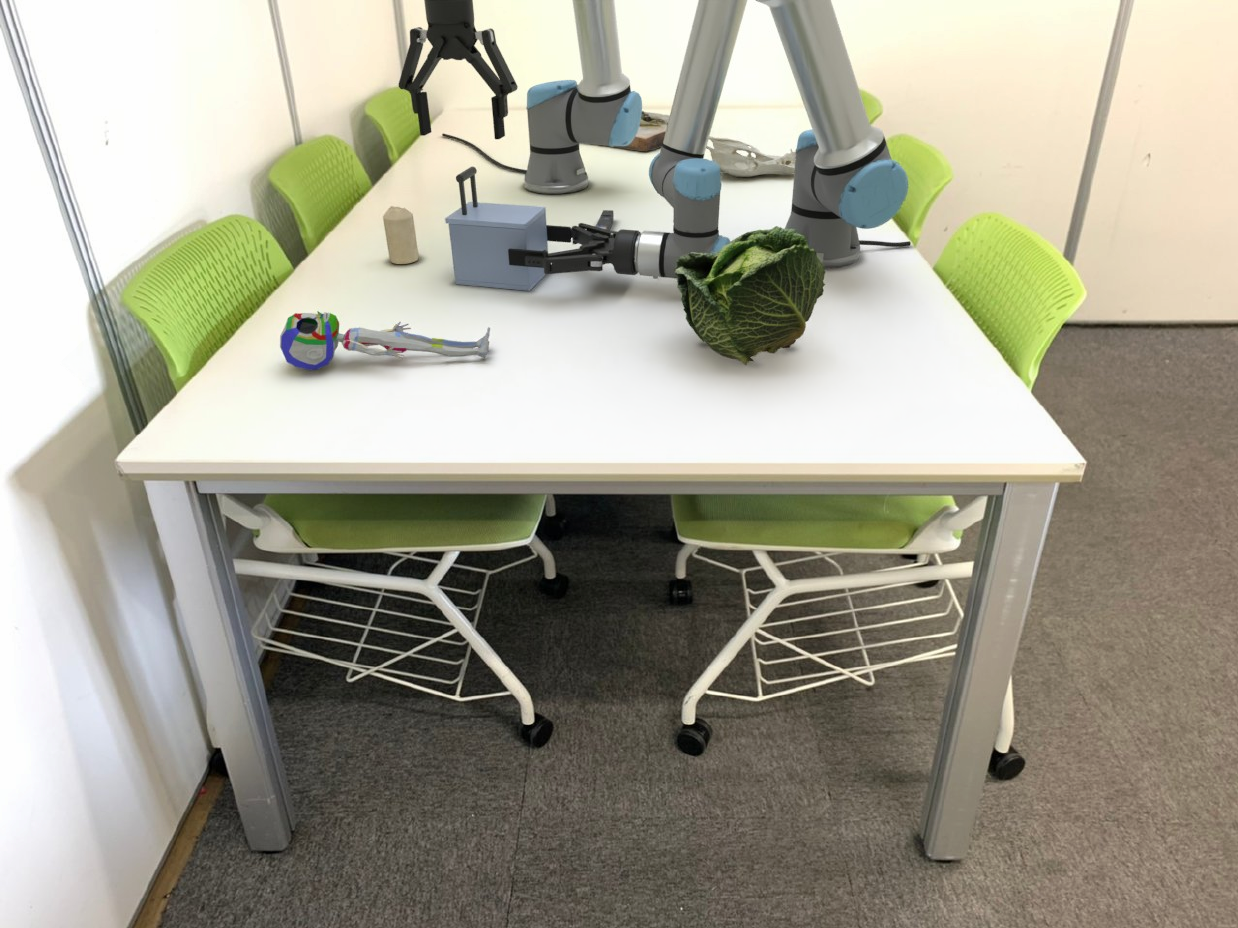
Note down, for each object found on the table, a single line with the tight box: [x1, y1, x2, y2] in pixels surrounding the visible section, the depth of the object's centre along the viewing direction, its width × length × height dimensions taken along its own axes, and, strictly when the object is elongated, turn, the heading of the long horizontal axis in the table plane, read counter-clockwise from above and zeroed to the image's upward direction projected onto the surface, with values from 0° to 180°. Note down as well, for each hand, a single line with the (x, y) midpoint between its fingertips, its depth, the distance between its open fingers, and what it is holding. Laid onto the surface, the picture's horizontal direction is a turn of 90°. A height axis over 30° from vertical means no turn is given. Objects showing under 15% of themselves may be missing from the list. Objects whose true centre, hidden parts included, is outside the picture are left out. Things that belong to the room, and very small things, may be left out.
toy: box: [279, 311, 491, 371], centre depth 133 cm, size 10×8×30 cm
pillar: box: [595, 209, 615, 231], centre depth 182 cm, size 2×2×20 cm
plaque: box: [612, 110, 670, 152], centre depth 257 cm, size 30×7×30 cm
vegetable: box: [674, 225, 826, 366], centre depth 131 cm, size 20×19×20 cm
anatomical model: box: [706, 135, 796, 178], centre depth 219 cm, size 15×9×25 cm
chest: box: [448, 212, 549, 292], centre depth 161 cm, size 14×10×11 cm
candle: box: [382, 205, 420, 265], centre depth 169 cm, size 6×6×10 cm
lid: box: [444, 166, 547, 229], centre depth 156 cm, size 15×10×8 cm
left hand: (462, 136), depth 152 cm, fingers open, 13 cm apart
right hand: (523, 244), depth 159 cm, fingers open, 13 cm apart
